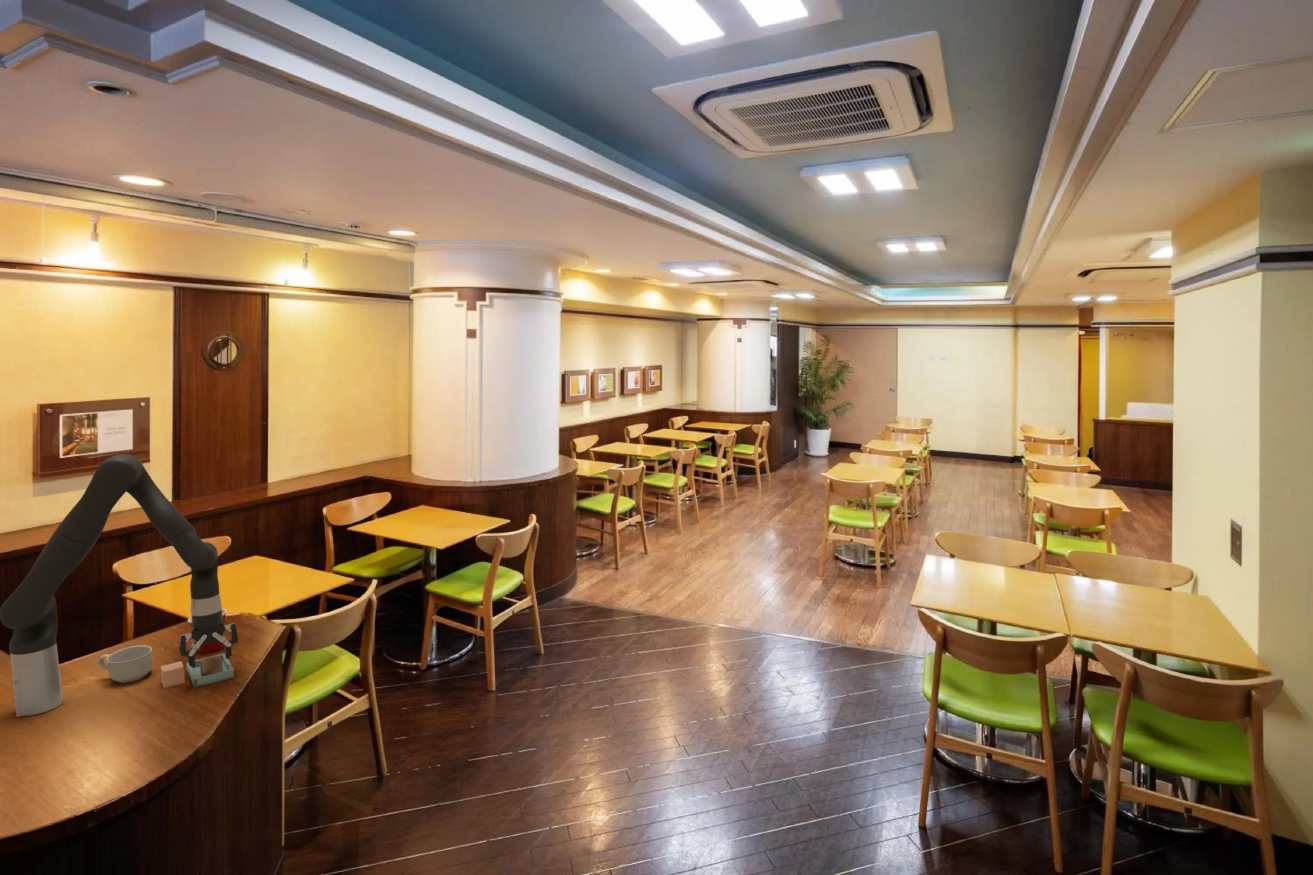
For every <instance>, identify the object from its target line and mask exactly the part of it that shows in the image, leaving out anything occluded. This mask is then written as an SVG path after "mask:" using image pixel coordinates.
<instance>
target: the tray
mask: <svg viewBox="0 0 1313 875" xmlns="http://www.w3.org/2000/svg"><path fill="white" fill-rule="evenodd" d="M217 655H220V657H221V659H222V664H223V671H221V672H217V673H214V674H210V675H206V676H202V677H201V669H200V660H201V659H205V658H209V657H213V656H217ZM185 664H186V665H185V668H186V672H187V674H188V675H187V676H189V680H190V681H191V683H192V684H191V685H192V687H193V689H195V688H200V687H204V686H207V685H211V684H215V683H218V682H223V681H225V680H229V679H233V678H235V668H234V666H233V665H232V663H231V662H230V660H229V659H226V657H225V652H223V653H220V654H219V653H218V654H216V655H215V654H214V655H212V656H208V657H204V658H200V659H195V667H194V668H192V666H190V665H189V663H188V662H186V663H185Z"/></svg>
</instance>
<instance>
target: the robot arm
mask: <svg viewBox="0 0 1313 875" xmlns="http://www.w3.org/2000/svg"><path fill="white" fill-rule="evenodd" d="M125 493H127V494H129V495H130V496H131V497H132V498H133V499H134V500H135V501H136V502H137V503H138V505H139V506H140V507H141V509H142V511H143V512H144V514H145V515H146V517H147V518H148V520H149V521H150V523H151V525H152V526H153V527H154V528H155V530H156V531H157V532H158V533H159V534H160V535H161V536H162V537H163V538H164V539H165V541H167V542H168V543H169V544H171V545H172V546H173V548H174V550H175V551H176V553H177V555H178V556H179V557H180V559H181V560H182V561H183V562H184V563H185V564H186V566H188V567H189V568H190V571H191V573H190V574H191V579H190V582H189V588H190V590H189V591H190V614H191V616H190V617H192V626H191V629H192V630H191V633H189V632H188V633H183V632H182V633H180V634H179V653H180V656H181V657H184V656H185V657H186V656H187V660H188V663H189V665H190V666H192V668H194V667H195V660H196V659H195V657H196V656H195V653H196V652H197V650H198V649H200V648H199V647H200V645H207V644H209V643H215V642H216V641H218V640H219V641H220V642H222V645H224V653H225V657H226V659H228V660H229V659H230V657H232V653H233V652H232V646H233V645H234V644H237V643H238V642H239V638H238V632H237V626H236V623H235V622H233V621H232V622H230V623H229V624H226V625H225V624H224V625H223V618H222V609H223V608H222V606H223V605H222V598H221V592H220V582H219V577H218V575H219V574H218V573H219V572H218V571H219V567H218V566H219V554H218V553H219V552H218V550H217V547H216V546H215V545H214V544H212V543H211V542H207V541H203V540H202V539H201V538H200V537H199V535H198V534H197V530H196V529H195V527H194V525H193V524H191V523H190V521H189V520H188V519H187V518H186V517H185V516H184V515H183V514H182V513H181V512H180V511H179V510H178V509H177V508H176V507H175V506H174V505H173V503H172V502H171V501H170V500H169V499H168V498H167V497H166V495H164V493H163V492H162V491H161V489H160V488H159V487H158V486H157V484H156V483H155V482H154V480H153V479H152V478H151V476H150V474H149V473H148V471H147V469H146V468H145V466H144V465H143V463H142V462H141V461H140V460H139V459H138V458H137V457H136V456H133V455H132V454H128V453H127V454H126V453H125V454H124V453H123V454H116V455H113V456H111V457H109V458H107V459H105V460H103V461H102V462H100V464H99V465H98V467H97V468H96V470H95V472H94V474H93V476H92V478H91V480H90V482H89V483H88V485H87V487H86V489H85V491H84V493H83V494H82V496H81V498H80V499H79V500H78V501H77V503H76V504H75V505H74V506H73V507H72V508H71V510H70V511H69V512H68V513H67V514H66V516H65V517H64V519H63V520H62V521H61V522H60V524H59V525H58V526H57V528H56V529H55V530H54V532H53V533H52V535H51V536H50V538H49V539H48V541H47V542H46V544H45V545H44V547H43V548H42V551H41V552H40V553H39V555H38V557H37V559H36V560H35V562H34V563H33V566H32V567H31V569H30V571H28V573H27V575H26V576H25V577H24V579H23V580H22V581H21V583H19V585H18V586H17V587H16V588H15V590H14V591H13V592H12V593H11V594H10V595H9V596H8V598H6V599H5V600H4V602H3V603H2V605H1V607H0V622H1V624H2V625H3V626H4V627H6V628H8V629H10V630H13V634H12V637H11V638H10V641H9V644H8V645H9V646H8V647H9V649H8V650H9V656H10V663H11V664H10V665H11V671H12V672H11V673H12V674H11V675H12V680H13V681H12V689H13V697H14V706H15V714H16V718H20V717H27V716H35V715H40V714H42V713H47V712H49V711H51V710H53V709H56V708H57V707H59V706H61V705H62V704H63V701H64V700H63V690H62V681H61V680H62V679H61V673H60V665H59V664H60V662H59V655H58V646H57V634H58V629H59V623H58V608H57V601H56V598H55V592H56V591H57V589H58V588H59V587H60V586H61V584H62V583H64V581H65V579H66V578H67V577H69V575H71V574H72V573H73V571H75V570H76V569H77V567H78V566H79V565H80V564H81V562H83V561H84V560H85V558H86V557H87V556H88V555H89V553H90V552H91V551H92V549H93V548H94V546H95V545H96V544H97V541H98V540H99V538H100V537H101V535H102V533H103V530H104V528H105V527H106V523H107V521H108V518H109V516H110V513H111V512H112V511H113V508H114V507H115V505H116V504H117V503H118V502H119V501H120V499H121V498H123V496H124V495H125ZM226 630H227V632H229V633H230V635H231V636H230V637H231V638H230V639H227V637H225V636H224V633H225V631H226ZM222 634H223V635H222ZM190 638H192V639H193V640H194V641H193V642H192V644H191V646H190V647H189V648H188V649H187V642H189V639H190Z"/></svg>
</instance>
